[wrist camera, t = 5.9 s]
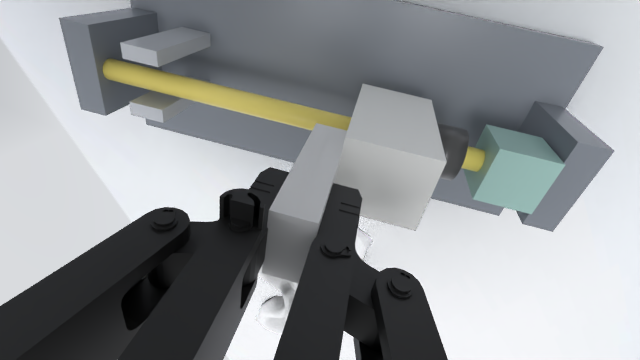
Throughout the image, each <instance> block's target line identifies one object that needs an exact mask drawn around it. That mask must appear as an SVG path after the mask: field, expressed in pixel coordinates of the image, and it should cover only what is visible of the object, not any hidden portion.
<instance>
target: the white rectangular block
mask: <svg viewBox="0 0 640 360" xmlns="http://www.w3.org/2000/svg"><path fill="white" fill-rule="evenodd" d="M446 163H447V161H446V157H445V153H444V149H443V145H442V141H441V137H440V133H439V129H438V125H437V120H436V116H435V112H434V108H433V104H432V100H430V99H426V98H422V97H417V96H413V95H409V94H405V93H400V92H396V91H392V90H388V89H384V88H379V87H375V86H371V85H367V84H362V87H361V90H360V93H359V97H358V100H357V103H356V106H355V109H354V112H353V115H352V118H351V121H350V124H349V127H348V130H347V133H346V136H345V140H344V144H343V150H342V154H341V158H340V163H339V167H338V171H337V175H336V179H335V184H339V185H343V186H347V187H351V188H354V189H358V190H359V192H360V194H361V197H362V204H361V210H360V216H362V217H366V218H370V219H373V220H377V221H381V222H385V223H388V224H392V225H396V226H400V227H403V228H407V229H411V230H414V231H416V229H417V227H418V224H419V222H420V220H421V218H422V216H423V213H424V211H425V209H426V207H427V205H428V202H429V200H430V198H431V196H432V194H433V191H434V189H435V187H436V185H437V182H438V180H439V178H440V176H441V174H442V171H443V169H444V167H445V165H446Z"/></svg>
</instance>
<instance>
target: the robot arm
mask: <svg viewBox="0 0 640 360" xmlns="http://www.w3.org/2000/svg"><path fill="white" fill-rule="evenodd" d="M346 133H347V131H346V130H342V129H338V128H334V127H330V126H326V125H322V124H318V123H316V125H315V126H314V128H313V130H312V132H311V134H310V136H309V137H308V139H307V141H306V143H305V145H304V147H303V148H302V150H301V152H300V154H299V156H298V158H297V159H296V161H295V163H294V165H293V167H292V169H291V170H290V172H286V171H282V170H278V169H274V168H271V167H270V168H268V169H266V170H264V171H263V172H261V173H260V174H259V175H258V177H257V178H256V180H255V182H254V183H253V184H252V186H251V188H249V189H242V188H241V189H232V190H229V191H227V192H225V193H223V194H222V195H221V196H220V218H219V220H218V221H214V222H190V219H189V217H188V214H186V213H185V212H184V211H183V210H180V209H177V208H169V207H164V208H159V209H155V210H153V211H151V212H148V213H146V214H145V215H143V216H142V217H140V218H139V219H137V220H135V221H134V222H132V223H131V224H129V225H128V226H126V227H124V228H123V229H121V230H120V231H118V232H117V233H115V234H113V235H112V236H110V237H109V238H107V239H105V240H104V241H102V242H101V243H99V244H98V245H96V246H94V247H93V248H91V249H90V250H88V251H87V252H85V253H83V254H82V255H80V256H79V257H77V258H75V259H74V260H72V261H71V262H69V263H68V264H66V265H64V266H63V267H61V268H60V269H58V270H57V271H55V272H53V273H52V274H50V275H49V276H47V277H46V278H44V279H42V280H41V281H39V282H38V283H36V284H35V285H33V286H31V287H30V288H29V289H27V290H25V291H24V292H22V293H20V294H19V295H17V296H16V297H14V298H12V299H11V300H9V301H8V302H6V303H5V304H3V305H1V306H0V360H117V359H118V360H223V359H224V356H225V354H226V352H227V350H228V347H229V345H230V343H231V341H232V339H233V336H234V334H235V332H236V330H237V328H238V325H239V323H240V321H241V319H242V316H243V314H244V312H245V310H246V308H247V305H248V303H249V301H250V299H251V296H252V294H253V292H254V290H255V288H256V284H257V277H258V273H259V271H260V269H261V267H262V273H263V274H267V275H270V276H274V277H277V278H281V279H284V280H288V281H291V282H295V283H298V286H297V289H296V292H295V295H294V298H293V301H292V305H291V308H290V311H289V314H288V317H287V320H286V323H285V326H284V329H283V332H282V335H281V338H280V341H279V344H278V347H277V351H276V354H275V357H274V360H339V356H340V350H341V343H342V337H343V331H345V332H347V333H348V334H350V335H351V336H353V337H354V346H355V354H356V360H448V359H447V356H446V353H445V350H444V347H443V344H442V342H441V339H440V336H439V333H438V330H437V327H436V324H435V321H434V319H433V316H432V313H431V310H430V307H429V304H428V301H427V298H426V296H425V293H424V290H423V288H422V286H421V284H420V282H419V281H418V280H417V279H416V278H415V277H414V276H413V275H412V274H410V273H408V272H406V271H405V270H402V269H398V268H386V269H384V270H382V271H380V272H379V271H377V270H376V269H374V268H372V267H370V266H369V265H367V264H366V263H365V262H364V261H363V260H362V259H361V258H360V257H359V255H358V254H357V252H356V249H355V241H356V235H357V229H358V223H359V216H360V210H361V204H362V197H361V194H360V192H359V190H358V189H354V188H351V187H347V186H343V185H339V184H335V179H336V175H337V171H338V167H339V163H340V158H341V154H342V150H343V144H344V140H345V136H346ZM262 265H263V266H262Z"/></svg>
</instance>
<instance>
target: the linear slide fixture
mask: <svg viewBox="0 0 640 360" xmlns="http://www.w3.org/2000/svg"><path fill="white" fill-rule="evenodd" d="M59 19H60V24H61V28H62V32H63V36H64V40H65V44H66V48H67V53H68V57H69V61H70V65H71V69H72V73H73V77H74V82H75V86H76V90H77V94H78V98H79V102H80V106H81V109H82V110H86V111H90V112H94V113H98V114H101V115H105V116H106V115H108V114H110V113H112V112H114V111H116V110H118V109H120V108H122V107H124V106H126V105H128V104H130V110H131V115H134V116H138V117H142V118H146V124H147V125H151V126H154V127H158V128H162V129H166V130H170V131H174V132H178V133H182V134H185V135H189V136H193V137H197V138H201V139H205V140H209V141H212V142H216V143H220V144H224V145H228V146H232V147H236V148H239V149H243V150H247V151H251V152H255V153H259V154H263V155H266V156H270V157H274V158H278V159H282V160H286V161H290V162H293V163H295V161H296V159H297V158H298V156H299V154H300V152H301V150H302V148H303V147H304V145H305V143H306V141H307V139H308V137H309V136H310V134H311V132H312V130H313V128H314V126H315V125H316V123H318V124H322V125H326V126H330V127H334V128H338V129H342V130H346V131H347V130H348V127H349V124H350V121H351V118H352V115H353V112H354V109H355V106H356V103H357V100H358V97H359V93H360V90H361V87H362V84H367V85H371V86H375V87H379V88H384V89H388V90H392V91H396V92H400V93H405V94H409V95H413V96H417V97H422V98H426V99H430V100H432V104H433V108H434V112H435V116H436V120H437V125H438V129H439V133H440V137H441V141H442V145H443V149H444V153H445V157H446V161H447V163H446V165H445V167H444V169H443V171H442V174H441V176H440V178H439V180H438V182H437V185H436V187H435V189H434V191H433V194H432V196H431V198H432V199H436V200H440V201H444V202H448V203H452V204H456V205H459V206H463V207H467V208H471V209H475V210H479V211H483V212H486V213H490V214H494V215H498V216H499V215H500V213H501V212H502V210H503V208H504V207H505V208H509V209H513V210H516V211H517V214H518V216H519V218H520V220H521V222H522V224H525V225H529V226H533V227H537V228H541V229H545V230H548V231H552V232H553V230H554V229H555V228H556V227H557V225H558V224H559V223H560V221H561V220H562V219H563V217H564V216H565V215H566V213H567V212H568V211H569V210H570V208H571V207H572V206H573V204H574V203H575V202H576V200H577V199H578V198H579V197H580V195H581V194H582V193H583V191H584V190H585V189H586V187H587V186H588V185H589V183H590V182H591V181H592V180H593V178H594V177H595V176H596V174H597V173H598V172H599V170H600V169H601V168H602V166H603V165H604V164H605V163H606V161H607V160H608V159H609V157H610V156H611V155H612V153H613V152H614V150H613V149H612V148H610V147H609V146H608V145H607V144H606V143H605V142H603V141H602V140H601V139H600V138H599V137H597V136H596V135H595V134H594V133H593V132H591V131H590V130H589V129H588V128H587V127H585V126H584V125H583V124H582V123H581V122H580V121H578V120H577V119H576V118H575V117H574V116H572V115H571V114H570V113H569V112H568V111H566V110H565V108H566V107H567V105H568V104H569V102H570V100H571V99H572V97H573V96H574V94H575V92H576V91H577V89H578V88H579V86H580V84H581V83H582V81H583V79H584V78H585V76H586V75H587V73H588V71H589V70H590V68H591V67H592V65H593V63H594V62H595V60H596V59H597V57H598V55H599V54H600V52H601V50H602V49H603V47H602V46H600V45H597V44H594V43H591V42H586V41H581V40H577V39H572V38H568V37H563V36H558V35H554V34H549V33H545V32H540V31H535V30H531V29H526V28H522V27H517V26H512V25H508V24H503V23H499V22H494V21H489V20H485V19H480V18H476V17H471V16H466V15H462V14H457V13H453V12H448V11H443V10H439V9H434V8H430V7H425V6H420V5H416V4H411V3H407V2H402V1H397V0H131V8H127V9H120V10H113V11H106V12H99V13H92V14H85V15H77V16H70V17H63V18H59Z"/></svg>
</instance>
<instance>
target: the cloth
mask: <svg viewBox="0 0 640 360" xmlns="http://www.w3.org/2000/svg"><path fill="white" fill-rule="evenodd" d="M371 244H372V240H371V237H370V236H369V235H367V234H366V233H364V232H363V231H361V230H360V229H359V228H358V229H357V235H356V241H355V249H356V252H357V254H358V255H359V257H360V258H361V259H362V260H363V258H364V255H365V253H366V250H367V248H368V247H369V246H370V245H371ZM262 266H263V265H262ZM258 277H259V278H261V279H262V280H264V281H265V282H266V283H268V284H269V285H270V286H272V287H273V288H275V289H276V290H278V291H280V292H281V293H282V296H274V297H272V298H271V299H270V300H268V301H267V302H265V303H264V304H263V305H261V307H260V309H259V314H258V315H257V316H256V318H255V320H256V321H257V322H258V323H259V324H260V325H261V326H262V327H264V328H265V329H266V330H268V331H271V332H273V333H276V334H279V335H282V332H283V329H284V326H285V323H286V320H287V317H288V314H289V311H290V308H291V305H292V301H293V298H294V295H295V292H296V289H297V286H298V283H295V282H291V281H288V280H284V279H281V278H277V277H274V276H270V275H267V274H263V273H262V267H261V269H260V271H259V273H258Z"/></svg>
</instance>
